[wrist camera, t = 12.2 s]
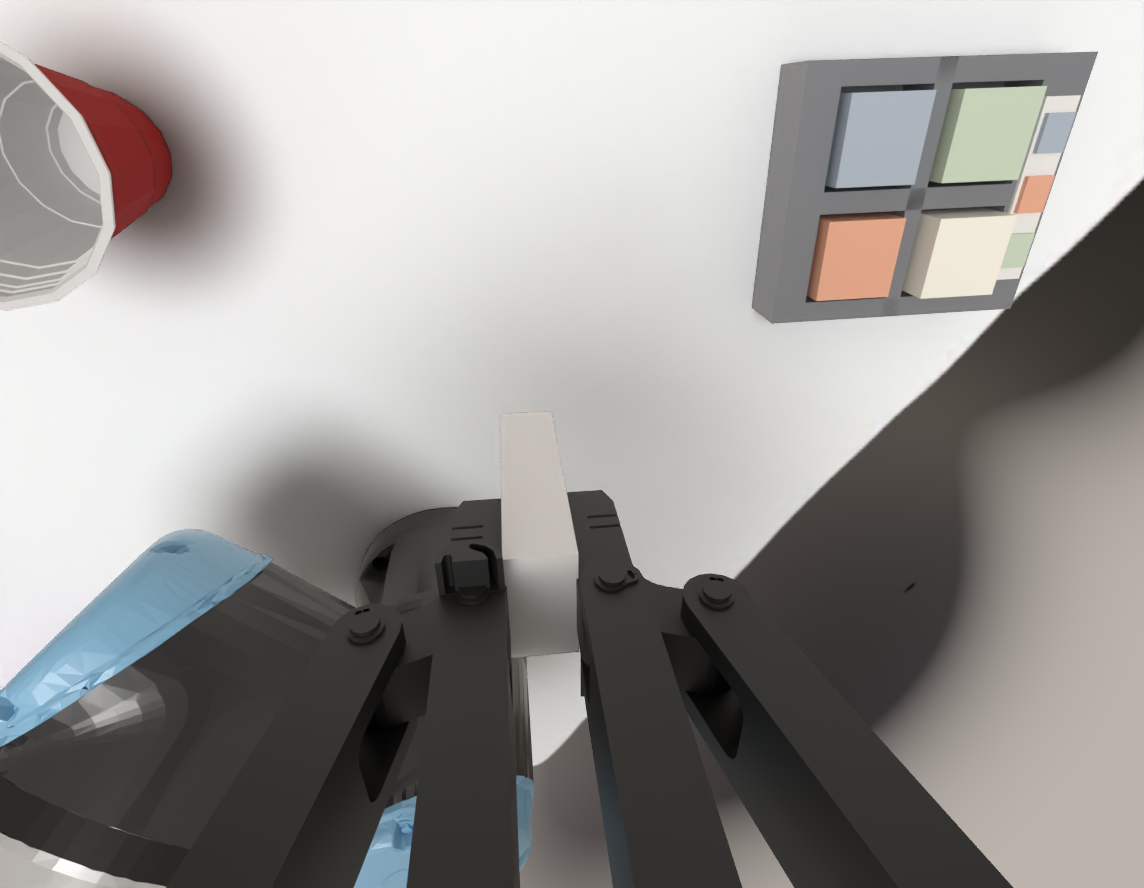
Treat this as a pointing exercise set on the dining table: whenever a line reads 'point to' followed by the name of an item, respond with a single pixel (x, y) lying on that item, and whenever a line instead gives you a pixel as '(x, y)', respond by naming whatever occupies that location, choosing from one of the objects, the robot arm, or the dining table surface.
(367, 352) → the dining table surface
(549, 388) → the dining table surface
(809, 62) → the keypad
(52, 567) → the dining table surface
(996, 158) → the key sage
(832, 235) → the key terracotta
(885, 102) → the key slate
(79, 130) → the plastic cup
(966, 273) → the key cream
